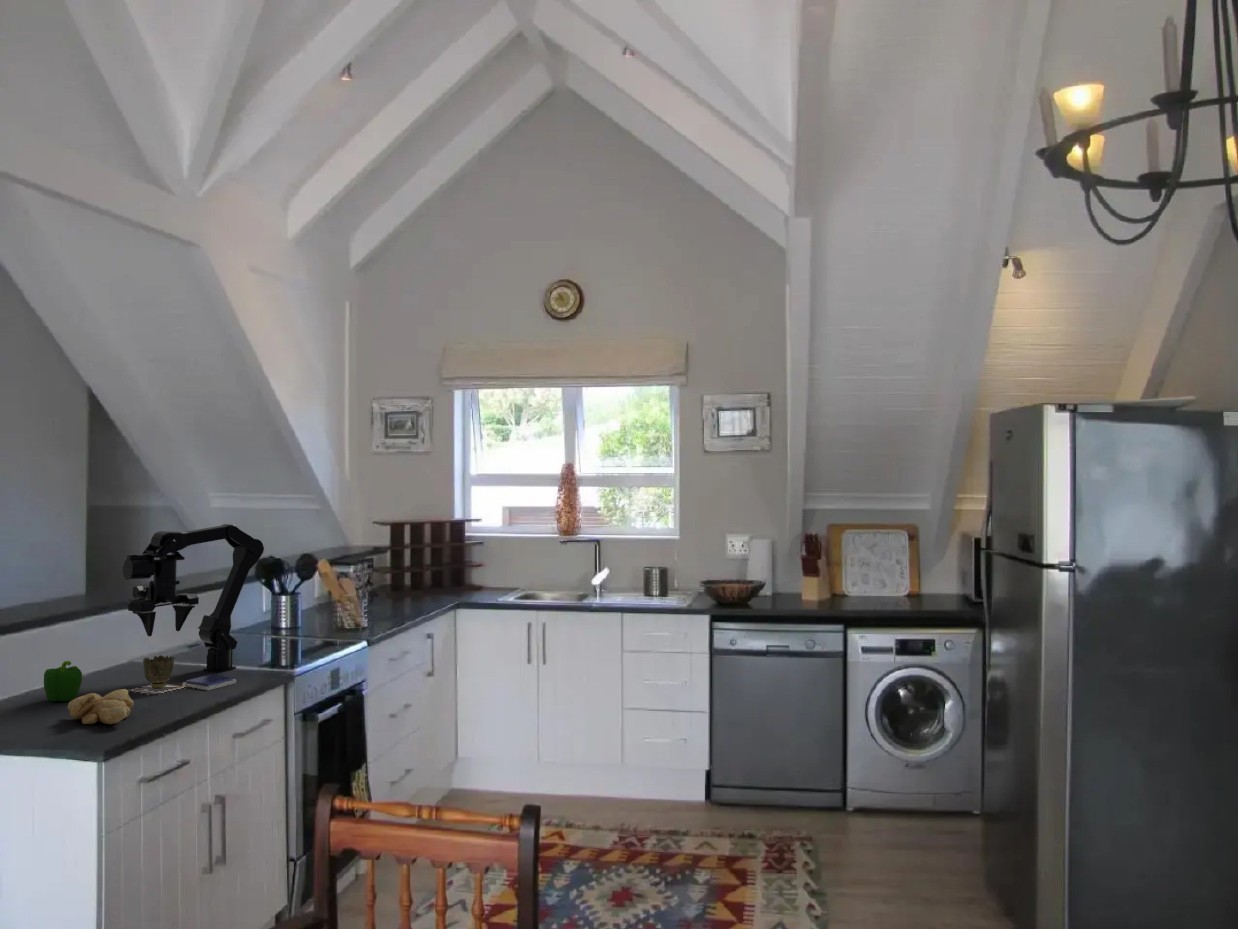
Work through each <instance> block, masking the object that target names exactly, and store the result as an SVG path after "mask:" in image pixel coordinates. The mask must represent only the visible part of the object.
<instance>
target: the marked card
mask: <svg viewBox="0 0 1238 929" xmlns="http://www.w3.org/2000/svg"><path fill="white" fill-rule="evenodd" d="M142 687H151V684H148V685H144V686H143V685H142ZM165 687H177V688H173V689H168V690H164V691H158V692H154V691H148V689H144V690H135V689H138V687H135V689H134V688H131V691H136V692H141V693H140V694H142V693H163V694H165V693H164V692H167V691H171V692H173V691H172V690H176V689H180V690H182V689H181V688H184V686H183V685H176V684H172V683H171V684H169V683H166V686H165ZM184 689H185V688H184ZM176 691H177V690H176ZM136 692H135V693H136ZM167 693H168V692H167Z"/></svg>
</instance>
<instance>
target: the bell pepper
mask: <svg viewBox="0 0 1238 929" xmlns="http://www.w3.org/2000/svg"><path fill="white" fill-rule="evenodd" d="M71 665H72V662H71V661H70V660H66V661H63V662H62V663H61V666H59V667H57V668H47V669H45V671H44V673H43V687H44V692H45V696H46V699H47V700H48V701H50V702H51V703H52V702H56V701H58V702H71V701H72V700H74V699H76V698H77V696H78V695H79V692H80V689H81V686H82V682H83V681H82V680H83V673H82V671H81V669H80V668H79V667H78V666H77V665H72V666H71ZM67 666H69V667H67Z"/></svg>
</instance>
